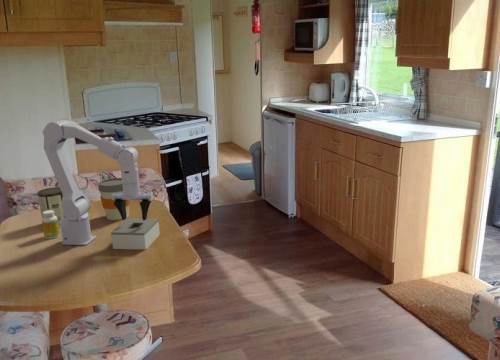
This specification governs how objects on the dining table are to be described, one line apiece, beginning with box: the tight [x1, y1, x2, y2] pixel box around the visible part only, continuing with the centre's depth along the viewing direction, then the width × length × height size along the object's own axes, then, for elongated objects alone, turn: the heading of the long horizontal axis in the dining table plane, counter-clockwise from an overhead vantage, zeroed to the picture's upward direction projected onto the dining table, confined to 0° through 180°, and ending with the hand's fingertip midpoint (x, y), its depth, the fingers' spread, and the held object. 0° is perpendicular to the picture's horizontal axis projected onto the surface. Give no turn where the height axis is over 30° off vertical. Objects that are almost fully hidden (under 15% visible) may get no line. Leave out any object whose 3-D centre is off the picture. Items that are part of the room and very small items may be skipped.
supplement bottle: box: [41, 210, 61, 240], centre depth 180 cm, size 5×5×10 cm
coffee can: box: [36, 186, 65, 228], centre depth 193 cm, size 10×10×14 cm
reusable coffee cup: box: [98, 177, 131, 221], centre depth 199 cm, size 13×13×15 cm
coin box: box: [110, 218, 161, 250], centre depth 172 cm, size 12×14×6 cm
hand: (134, 219), depth 171 cm, fingers open, 7 cm apart
